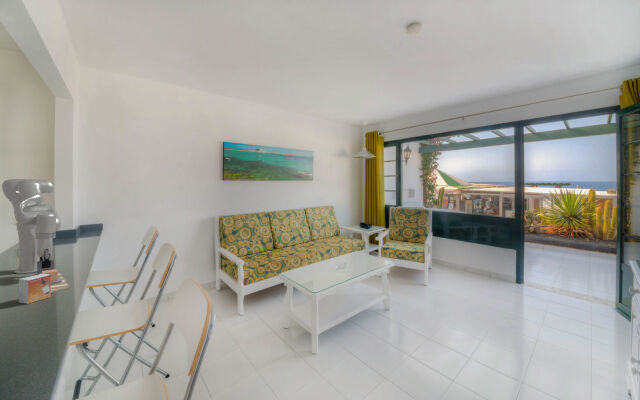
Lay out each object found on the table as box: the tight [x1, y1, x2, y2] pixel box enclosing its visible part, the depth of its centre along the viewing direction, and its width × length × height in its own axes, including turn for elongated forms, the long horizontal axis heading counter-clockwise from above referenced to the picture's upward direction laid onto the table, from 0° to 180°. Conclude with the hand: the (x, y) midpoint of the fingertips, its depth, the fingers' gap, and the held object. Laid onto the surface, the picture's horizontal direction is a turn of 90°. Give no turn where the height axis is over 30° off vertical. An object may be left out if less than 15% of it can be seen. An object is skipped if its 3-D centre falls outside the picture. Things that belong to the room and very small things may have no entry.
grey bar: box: [33, 259, 62, 284], centre depth 130 cm, size 22×8×8 cm, turn 53°
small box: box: [18, 274, 52, 305], centre depth 110 cm, size 8×6×10 cm
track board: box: [29, 271, 70, 293], centre depth 128 cm, size 33×11×1 cm, turn 53°
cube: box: [42, 268, 58, 282], centre depth 126 cm, size 5×5×5 cm
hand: (45, 265), depth 136 cm, fingers open, 9 cm apart
